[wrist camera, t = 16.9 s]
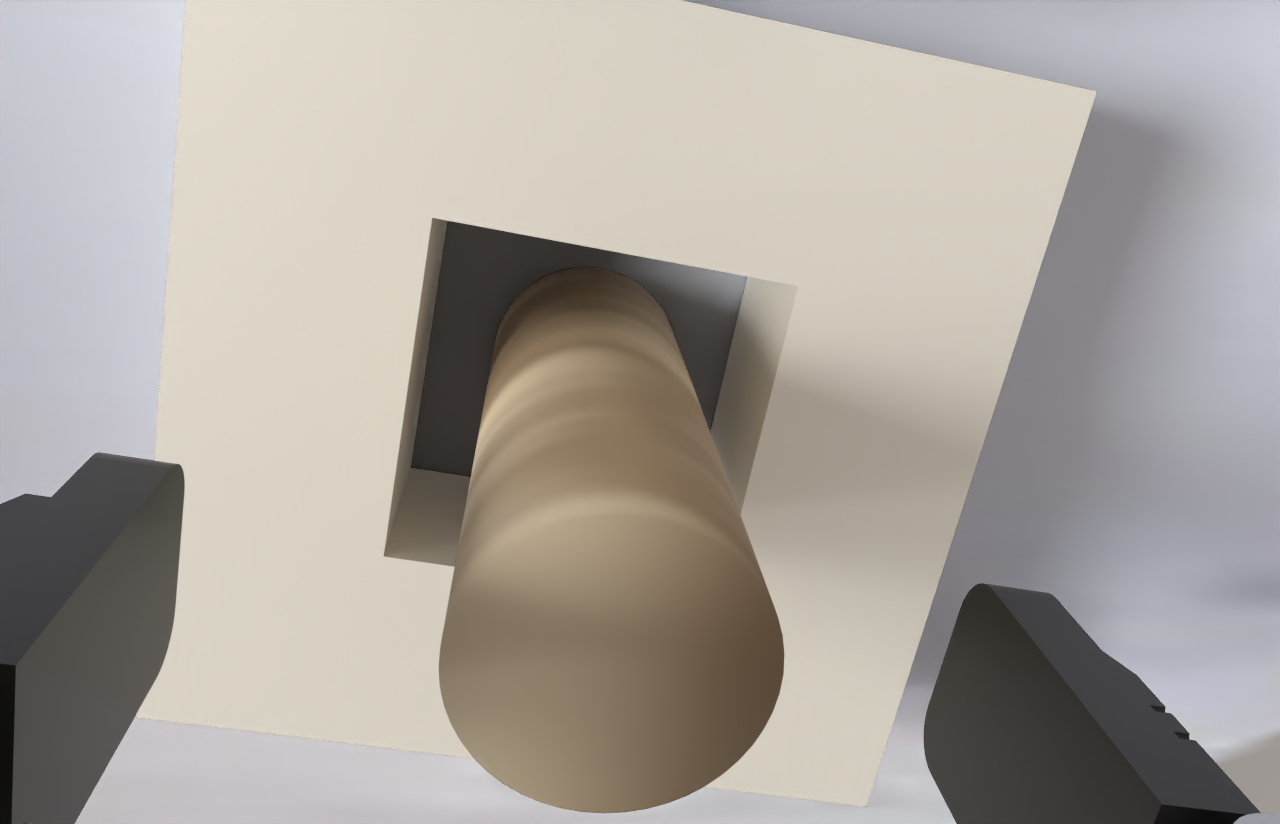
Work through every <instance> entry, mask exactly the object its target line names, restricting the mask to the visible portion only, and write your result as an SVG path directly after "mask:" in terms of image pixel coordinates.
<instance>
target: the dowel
mask: <svg viewBox="0 0 1280 824" xmlns="http://www.w3.org/2000/svg"><path fill="white" fill-rule="evenodd" d="M438 669H439V684H440V691H441V695H442V700H443V704H444V708H445V710H446V713H447V715H448V718H449V721H450V723H451V725H452V727H453V729H454V731H455V732H456V734H457V736H458V738H459V739H460V741H461V743H462V744H463V745H464V747H465V748H466V749H467V750H468V752H469V753H470V754H471V756H472V757H473V758H474V759H475V760H476V761H477V762H478V763H479V764H480V765H481V766H482V767H483V768H484V769H485V770H486V771H487V772H489V773H490V774H491V775H493V776H494V777H495V778H497V779H498V780H499V781H501V782H502V783H503V784H505V785H507V786H508V787H510V788H512V789H513V790H515V791H517V792H519V793H520V794H522V795H525V796H527V797H530V798H532V799H534V800H537V801H539V802H542V803H545V804H549V805H552V806H555V807H559V808H563V809H569V810H575V811H580V812H593V813H618V812H629V811H636V810H642V809H648V808H651V807H655V806H659V805H663V804H666V803H669V802H672V801H674V800H677V799H680V798H682V797H685V796H687V795H689V794H691V793H693V792H695V791H697V790H699V789H701V788H703V787H705V786H706V785H708V784H709V783H711V782H712V781H714V780H715V779H717V778H718V777H720V776H721V775H723V774H724V773H725V772H726V771H727V770H728V769H730V768H731V767H732V766H733V765H734V764H735V763H737V762H738V761H739V760H740V759H741V758H742V757H743V755H744V754H745V753H746V752H747V751H748V750H749V749H750V748H751V747H752V746H753V744H754V743H755V741H756V740H757V738H758V737H759V736H760V734H761V733H762V731H763V730H764V728H765V726H766V724H767V722H768V720H769V719H770V717H771V715H772V713H773V710H774V708H775V705H776V702H777V699H778V696H779V694H780V689H781V684H782V679H783V674H784V644H783V635H782V631H781V627H780V623H779V619H778V616H777V613H776V610H775V607H774V605H773V602H772V599H771V596H770V594H769V591H768V588H767V586H766V583H765V580H764V577H763V575H762V572H761V569H760V567H759V564H758V561H757V558H756V556H755V553H754V550H753V547H752V545H751V542H750V539H749V537H748V534H747V531H746V528H745V526H744V523H743V520H742V517H741V515H740V512H739V509H738V507H737V504H736V501H735V498H734V496H733V493H732V490H731V487H730V485H729V482H728V479H727V477H726V474H725V471H724V468H723V466H722V463H721V460H720V458H719V455H718V452H717V449H716V447H715V444H714V441H713V438H712V436H711V433H710V430H709V428H708V425H707V422H706V419H705V417H704V414H703V411H702V408H701V406H700V403H699V400H698V398H697V395H696V392H695V389H694V387H693V384H692V381H691V379H690V376H689V373H688V370H687V368H686V365H685V362H684V359H683V357H682V354H681V351H680V349H679V346H678V343H677V340H676V338H675V335H674V332H673V329H672V327H671V324H670V322H669V320H668V317H667V315H666V314H665V312H664V310H663V309H662V307H661V305H660V304H659V303H658V302H657V300H656V299H655V298H654V297H653V296H652V295H651V294H650V293H649V292H648V291H647V290H646V289H645V288H643V287H642V286H641V285H639V284H638V283H637V282H635V281H633V280H631V279H630V278H628V277H626V276H624V275H621V274H619V273H616V272H613V271H609V270H605V269H599V268H572V269H566V270H562V271H558V272H555V273H552V274H550V275H548V276H545V277H543V278H541V279H540V280H538V281H536V282H534V283H533V284H531V285H530V286H529V287H528V288H526V289H525V290H524V291H523V292H522V293H521V294H520V295H519V296H518V297H517V298H516V299H515V300H514V301H513V303H512V304H511V305H510V307H509V308H508V309H507V311H506V313H505V315H504V317H503V318H502V321H501V323H500V326H499V328H498V332H497V336H496V340H495V345H494V351H493V356H492V362H491V367H490V373H489V379H488V384H487V390H486V395H485V401H484V406H483V412H482V417H481V423H480V429H479V434H478V440H477V445H476V451H475V456H474V462H473V467H472V473H471V479H470V484H469V490H468V495H467V501H466V506H465V512H464V517H463V523H462V529H461V534H460V540H459V545H458V551H457V556H456V562H455V568H454V573H453V579H452V584H451V590H450V595H449V601H448V606H447V612H446V618H445V623H444V629H443V634H442V640H441V645H440V655H439V666H438Z"/></svg>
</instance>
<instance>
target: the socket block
mask: <svg viewBox="0 0 1280 824" xmlns="http://www.w3.org/2000/svg"><path fill="white" fill-rule="evenodd" d="M1096 93H1097V91H1093V90H1088V89H1084V88H1079V87H1075V86H1070V85H1066V84H1061V83H1057V82H1052V81H1047V80H1043V79H1038V78H1034V77H1029V76H1025V75H1020V74H1016V73H1011V72H1006V71H1002V70H997V69H993V68H988V67H984V66H979V65H975V64H970V63H965V62H961V61H956V60H952V59H947V58H943V57H938V56H934V55H929V54H924V53H920V52H915V51H911V50H906V49H902V48H897V47H893V46H888V45H883V44H879V43H874V42H870V41H865V40H861V39H856V38H852V37H847V36H842V35H838V34H833V33H829V32H824V31H820V30H815V29H811V28H806V27H801V26H797V25H792V24H788V23H783V22H779V21H774V20H770V19H765V18H760V17H756V16H751V15H747V14H742V13H738V12H733V11H728V10H724V9H719V8H715V7H710V6H706V5H701V4H697V3H692V2H687V1H683V0H186V1H185V16H184V30H183V45H182V60H181V74H180V89H179V104H178V118H177V133H176V147H175V162H174V177H173V191H172V206H171V221H170V235H169V250H168V264H167V279H166V294H165V308H164V323H163V338H162V352H161V367H160V382H159V396H158V411H157V425H156V440H155V455H154V461H161V462H167V463H174V464H180V465H181V466H182V469H183V473H184V481H185V490H184V505H183V517H182V530H181V543H180V556H179V568H178V581H177V594H176V607H175V616H174V623H173V628H172V633H171V638H170V642H169V646H168V650H167V653H166V656H165V659H164V662H163V665H162V667H161V670H160V672H159V674H158V676H157V678H156V680H155V682H154V684H153V685H152V687H151V689H150V691H149V692H148V694H147V696H146V698H145V700H144V701H143V703H142V705H141V707H140V708H139V710H138V712H137V718H144V719H152V720H160V721H168V722H176V723H185V724H193V725H201V726H209V727H217V728H225V729H234V730H242V731H250V732H258V733H266V734H274V735H283V736H291V737H299V738H307V739H315V740H323V741H331V742H340V743H348V744H356V745H364V746H372V747H380V748H389V749H397V750H405V751H413V752H421V753H429V754H438V755H446V756H454V757H462V758H470V759H474V758H473V757H472V756H471V754H470V753H469V752H468V750H467V749H466V748H465V747H464V745H463V744H462V743H461V741H460V739H459V738H458V736H457V734H456V732H455V731H454V729H453V727H452V725H451V723H450V721H449V718H448V715H447V713H446V710H445V708H444V704H443V700H442V695H441V691H440V684H439V669H438V666H439V655H440V645H441V640H442V634H443V629H444V623H445V618H446V612H447V606H448V601H449V595H450V590H451V584H452V579H453V573H454V568H455V562H456V556H457V551H458V545H459V540H460V534H461V529H462V523H463V517H464V512H465V506H466V501H467V495H468V490H469V484H470V479H471V477H468V476H461V475H455V474H449V473H442V472H436V471H429V470H423V469H417V468H411V464H412V457H413V450H414V444H415V437H416V430H417V423H418V417H419V410H420V403H421V396H422V390H423V383H424V376H425V369H426V362H427V356H428V349H429V342H430V335H431V329H432V322H433V315H434V308H435V302H436V295H437V288H438V281H439V275H440V268H441V261H442V254H443V248H444V241H445V234H446V227H447V221H452V222H458V223H463V224H468V225H474V226H479V227H484V228H490V229H495V230H500V231H506V232H511V233H517V234H522V235H527V236H533V237H538V238H543V239H549V240H554V241H559V242H565V243H570V244H575V245H581V246H586V247H591V248H597V249H602V250H608V251H613V252H618V253H624V254H629V255H634V256H640V257H645V258H650V259H656V260H661V261H666V262H672V263H677V264H682V265H688V266H693V267H699V268H704V269H709V270H715V271H720V272H725V273H731V274H736V275H741V276H747V281H746V285H745V289H744V293H743V297H742V302H741V306H740V310H739V314H738V318H737V323H736V327H735V331H734V335H733V339H732V344H731V348H730V352H729V356H728V360H727V365H726V369H725V373H724V377H723V381H722V386H721V390H720V394H719V398H718V402H717V407H716V411H715V415H714V419H713V423H712V428H711V432H710V433H711V436H712V438H713V441H714V444H715V447H716V449H717V452H718V455H719V458H720V460H721V463H722V466H723V468H724V471H725V474H726V477H727V479H728V482H729V485H730V487H731V490H732V493H733V496H734V498H735V501H736V504H737V507H738V509H739V512H740V515H741V517H742V520H743V523H744V526H745V528H746V531H747V534H748V537H749V539H750V542H751V545H752V547H753V550H754V553H755V556H756V558H757V561H758V564H759V567H760V569H761V572H762V575H763V577H764V580H765V583H766V586H767V588H768V591H769V594H770V596H771V599H772V602H773V605H774V607H775V610H776V613H777V616H778V619H779V623H780V627H781V631H782V635H783V644H784V674H783V679H782V684H781V689H780V694H779V696H778V699H777V702H776V705H775V708H774V710H773V713H772V715H771V717H770V719H769V720H768V722H767V724H766V726H765V728H764V730H763V731H762V733H761V734H760V736H759V737H758V738H757V740H756V741H755V743H754V744H753V746H752V747H751V748H750V749H749V750H748V751H747V752H746V753H745V754H744V755H743V757H742V758H741V759H740V760H739V761H738V762H737V763H735V764H734V765H733V766H732V767H731V768H730V769H728V770H727V771H726V772H725V773H724V774H723V775H721V776H720V777H718V778H717V779H715V780H714V781H712V782H711V783H709V784H708V785H706V786H705V787H707V788H715V789H723V790H731V791H739V792H747V793H756V794H764V795H772V796H780V797H788V798H796V799H805V800H813V801H821V802H829V803H837V804H845V805H854V806H862V807H866V806H867V803H868V800H869V797H870V794H871V791H872V788H873V785H874V782H875V779H876V775H877V772H878V769H879V766H880V763H881V760H882V757H883V754H884V751H885V747H886V744H887V741H888V738H889V735H890V732H891V729H892V726H893V723H894V720H895V716H896V713H897V710H898V707H899V704H900V701H901V698H902V695H903V692H904V689H905V685H906V682H907V679H908V676H909V673H910V670H911V667H912V664H913V661H914V658H915V654H916V651H917V648H918V645H919V642H920V639H921V636H922V633H923V630H924V627H925V623H926V620H927V617H928V614H929V611H930V608H931V605H932V602H933V599H934V596H935V592H936V589H937V586H938V583H939V580H940V577H941V574H942V571H943V568H944V565H945V561H946V558H947V555H948V552H949V549H950V546H951V543H952V540H953V537H954V534H955V530H956V527H957V524H958V521H959V518H960V515H961V512H962V509H963V506H964V502H965V499H966V496H967V493H968V490H969V487H970V484H971V481H972V478H973V475H974V471H975V468H976V465H977V462H978V459H979V456H980V453H981V450H982V447H983V444H984V440H985V437H986V434H987V431H988V428H989V425H990V422H991V419H992V416H993V413H994V409H995V406H996V403H997V400H998V397H999V394H1000V391H1001V388H1002V385H1003V382H1004V378H1005V375H1006V372H1007V369H1008V366H1009V363H1010V360H1011V357H1012V354H1013V351H1014V347H1015V344H1016V341H1017V338H1018V335H1019V332H1020V329H1021V326H1022V323H1023V320H1024V316H1025V313H1026V310H1027V307H1028V304H1029V301H1030V298H1031V295H1032V292H1033V289H1034V285H1035V282H1036V279H1037V276H1038V273H1039V270H1040V267H1041V264H1042V261H1043V257H1044V254H1045V251H1046V248H1047V245H1048V242H1049V239H1050V236H1051V233H1052V230H1053V226H1054V223H1055V220H1056V217H1057V214H1058V211H1059V208H1060V205H1061V202H1062V199H1063V195H1064V192H1065V189H1066V186H1067V183H1068V180H1069V177H1070V174H1071V171H1072V168H1073V164H1074V161H1075V158H1076V155H1077V152H1078V149H1079V146H1080V143H1081V140H1082V137H1083V133H1084V130H1085V127H1086V124H1087V121H1088V118H1089V115H1090V112H1091V109H1092V106H1093V102H1094V99H1095V96H1096Z"/></svg>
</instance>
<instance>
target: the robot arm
mask: <svg viewBox="0 0 1280 824" xmlns="http://www.w3.org/2000/svg"><path fill="white" fill-rule="evenodd" d="M184 490H185V481H184V473H183V469H182V466H181V465H180V464H174V463H167V462H161V461H154V460H147V459H140V458H133V457H127V456H120V455H113V454H106V453H99V452H98V453H95V454H94V455H93V456H92V457H91V458H90V459H89V460H88V461H87V462H86V463H85V464H84V465H83V466H82V467H81V468H80V469H79V470H78V471H77V472H76V473H75V474H74V475H73V476H72V477H71V478H70V479H69V480H68V481H67V482H66V483H65V484H64V485H63V486H62V487H61V488H60V489H59V490H58V491H57V492H56V493H55V494H54V495H53V496H52V497H45V496H38V495H31V494H24V495H21V496H19V497H16V498H14V499H12V500H9V501H7V502H4V503H2V504H0V824H74V823H75V822H76V820H77V818H78V816H79V815H80V813H81V811H82V809H83V808H84V806H85V804H86V802H87V800H88V799H89V797H90V795H91V793H92V792H93V790H94V788H95V786H96V785H97V783H98V781H99V779H100V777H101V776H102V774H103V772H104V770H105V769H106V767H107V765H108V763H109V761H110V760H111V758H112V756H113V754H114V753H115V751H116V749H117V747H118V746H119V744H120V742H121V740H122V738H123V737H124V735H125V733H126V731H127V730H128V728H129V726H130V724H131V723H132V721H133V719H134V717H135V715H136V714H137V712H138V710H139V708H140V707H141V705H142V703H143V701H144V700H145V698H146V696H147V694H148V692H149V691H150V689H151V687H152V685H153V684H154V682H155V680H156V678H157V676H158V674H159V672H160V670H161V667H162V665H163V662H164V659H165V656H166V653H167V650H168V646H169V642H170V638H171V633H172V628H173V623H174V616H175V607H176V594H177V581H178V568H179V556H180V543H181V530H182V517H183V505H184ZM924 750H925V756H926V761H927V765H928V768H929V770H930V773H931V775H932V777H933V778H934V780H935V782H936V784H937V786H938V788H939V790H940V792H941V794H942V796H943V798H944V800H945V802H946V804H947V806H948V808H949V809H950V811H951V813H952V815H953V817H954V819H955V821H956V823H957V824H1280V815H1276V814H1269V813H1260V812H1259V810H1258V809H1257V808H1256V807H1255V806H1254V805H1253V804H1252V803H1251V802H1250V800H1249V799H1248V798H1247V797H1246V796H1245V795H1244V794H1243V793H1242V792H1241V790H1240V789H1239V788H1238V787H1237V786H1236V785H1235V784H1234V783H1233V782H1232V780H1231V779H1230V778H1229V777H1228V776H1227V775H1226V774H1225V773H1224V772H1223V770H1222V769H1221V768H1220V767H1219V766H1218V765H1217V764H1216V763H1215V762H1214V760H1213V759H1212V758H1211V757H1210V756H1209V755H1208V754H1207V753H1206V752H1205V750H1204V749H1203V748H1202V747H1201V746H1200V745H1199V744H1198V743H1197V742H1196V741H1195V740H1189V733H1188V732H1187V730H1186V729H1185V728H1184V727H1183V726H1182V725H1181V724H1180V723H1179V722H1178V720H1177V719H1176V718H1175V717H1174V716H1173V715H1172V714H1171V713H1165V706H1164V705H1163V704H1162V703H1161V702H1160V700H1159V699H1158V698H1157V697H1156V696H1155V695H1154V694H1153V693H1152V692H1151V690H1150V689H1149V688H1148V687H1147V686H1146V685H1145V684H1144V683H1143V682H1142V680H1141V679H1140V678H1139V677H1138V676H1137V675H1136V674H1134V673H1133V672H1132V671H1130V670H1129V669H1127V668H1126V667H1124V666H1123V665H1122V664H1120V663H1119V662H1117V661H1116V660H1114V659H1113V658H1112V657H1110V656H1109V655H1107V654H1106V653H1104V652H1103V651H1102V650H1101V649H1100V648H1099V647H1098V646H1097V644H1096V643H1095V642H1094V641H1093V640H1092V639H1091V638H1090V636H1089V635H1088V634H1087V633H1086V632H1085V631H1084V630H1083V629H1082V627H1081V626H1080V625H1079V624H1078V623H1077V622H1076V621H1075V619H1074V618H1073V617H1072V616H1071V615H1070V614H1069V613H1068V611H1067V610H1066V609H1065V608H1064V607H1063V606H1062V605H1061V604H1060V602H1059V601H1058V600H1057V599H1056V598H1055V597H1054V596H1053V595H1051V594H1049V593H1044V592H1037V591H1030V590H1023V589H1017V588H1010V587H1003V586H996V585H989V584H982V583H981V584H977V585H976V586H974V587H973V588H972V589H971V590H970V591H969V592H968V594H967V595H966V597H965V599H964V601H963V603H962V606H961V609H960V612H959V615H958V618H957V621H956V624H955V627H954V630H953V633H952V636H951V639H950V642H949V645H948V648H947V651H946V654H945V657H944V660H943V663H942V666H941V669H940V672H939V675H938V678H937V681H936V684H935V687H934V690H933V693H932V696H931V699H930V702H929V705H928V709H927V713H926V718H925V725H924Z"/></svg>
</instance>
